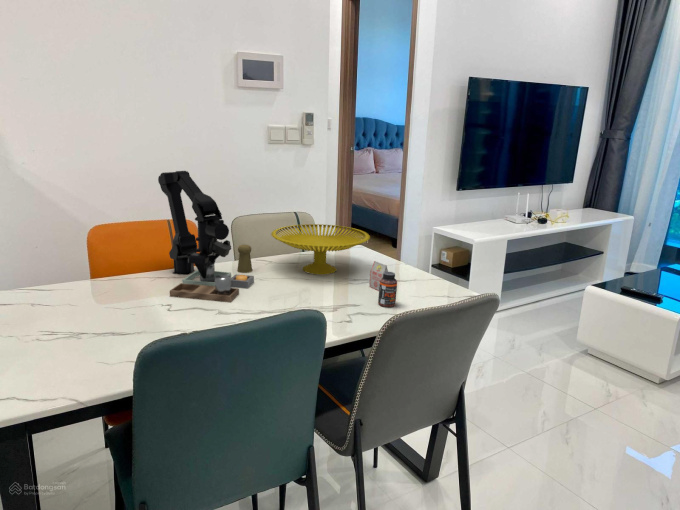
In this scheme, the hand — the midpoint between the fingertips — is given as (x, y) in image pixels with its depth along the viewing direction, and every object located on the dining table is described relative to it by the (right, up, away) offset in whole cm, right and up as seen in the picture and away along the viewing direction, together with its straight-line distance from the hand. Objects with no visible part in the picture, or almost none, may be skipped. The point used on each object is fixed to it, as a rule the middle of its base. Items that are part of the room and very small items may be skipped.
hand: (207, 276), depth 187 cm
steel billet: (0, -2, +1) cm, 2 cm away
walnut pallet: (+3, -7, -13) cm, 15 cm away
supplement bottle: (+64, -9, -12) cm, 66 cm away
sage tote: (0, -3, +1) cm, 3 cm away
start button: (+13, -3, -1) cm, 13 cm away
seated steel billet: (+9, -6, -14) cm, 18 cm away
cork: (+11, +1, +17) cm, 20 cm away
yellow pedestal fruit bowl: (+40, +2, +25) cm, 47 cm away
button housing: (+13, -4, -1) cm, 13 cm away
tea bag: (+63, -5, +4) cm, 63 cm away
